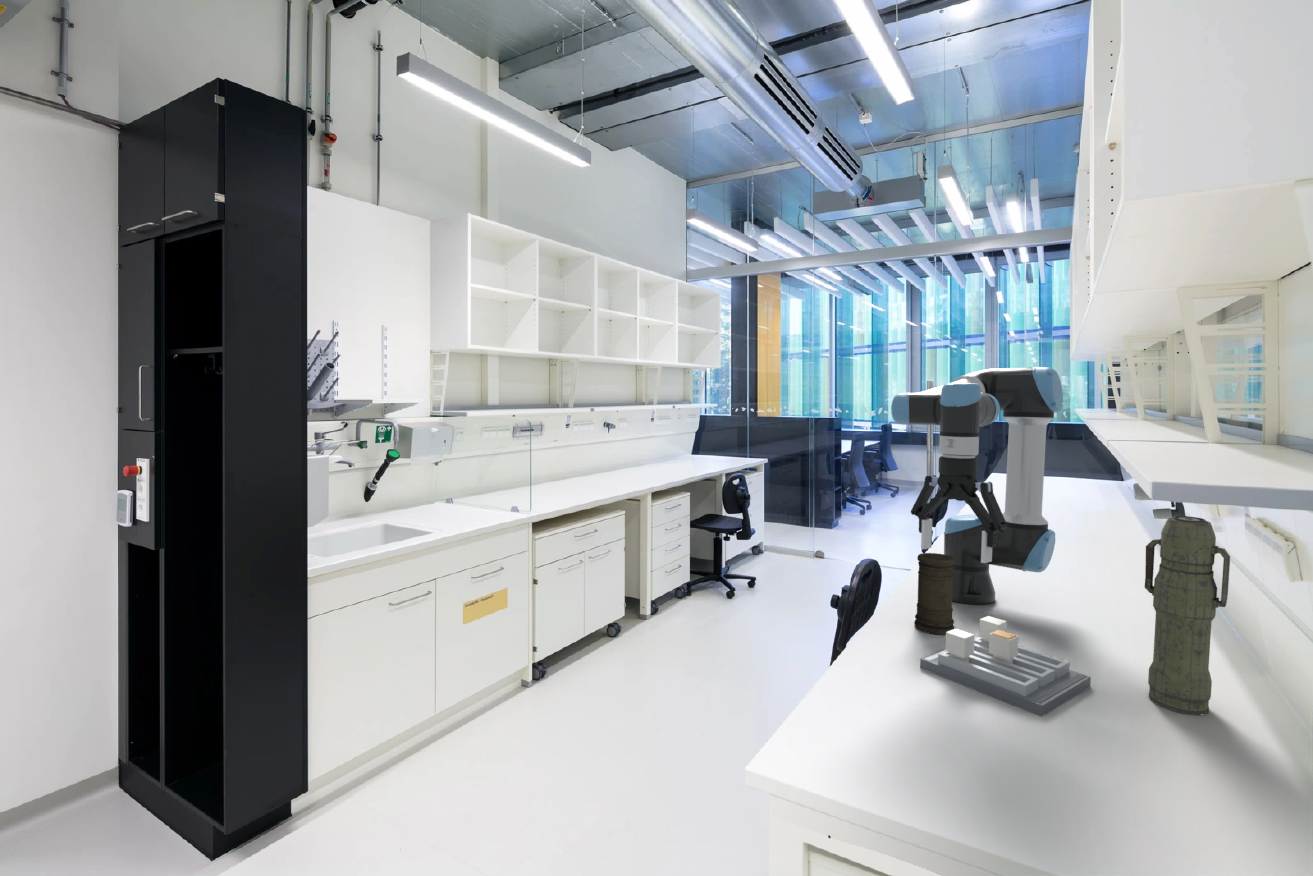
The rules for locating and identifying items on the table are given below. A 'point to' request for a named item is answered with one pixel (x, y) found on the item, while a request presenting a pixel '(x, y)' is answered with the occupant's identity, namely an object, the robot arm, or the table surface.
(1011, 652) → the handle
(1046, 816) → the table surface
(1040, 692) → the panel
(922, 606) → the container
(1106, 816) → the table surface
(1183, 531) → the thermos
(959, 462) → the robot arm
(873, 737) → the table surface
